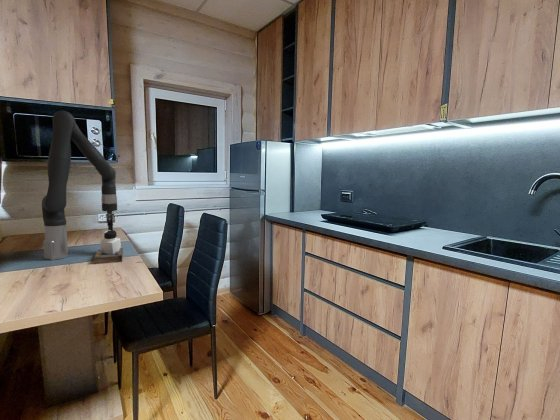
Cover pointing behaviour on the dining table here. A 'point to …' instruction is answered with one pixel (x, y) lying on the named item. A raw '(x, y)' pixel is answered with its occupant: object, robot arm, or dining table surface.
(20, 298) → the dining table surface
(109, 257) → the u rest
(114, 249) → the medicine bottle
